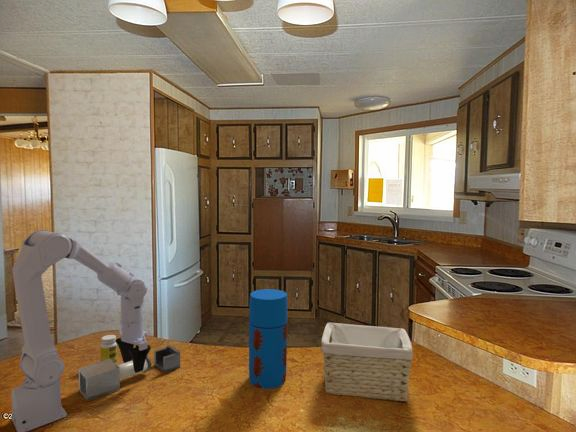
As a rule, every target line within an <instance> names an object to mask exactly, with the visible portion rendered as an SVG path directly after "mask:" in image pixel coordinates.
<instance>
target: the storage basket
mask: <svg viewBox="0 0 576 432" xmlns="http://www.w3.org/2000/svg"><path fill="white" fill-rule="evenodd" d="M411 342H412V341H411V339H410V337H409V334H408V332H407V331H406V329H405V328H402V327H400V328H397V327H390V326H389V327H388V326H374V325H360V324H349V323H340V322H339V323H337V322H327V323H326V324H325V327H324V330H323V333H322V337H321V352H322V354H323V372H324V375H323V376H324V377H323V378H324V380H325V382H324V386H325V388H324V389H325V390H324V391H325V393H327V394H331V395H336V396H338V395H339V396H340V395H342V396H348V397H349V396H352V397H356V396H359V397H358V398H370V399H376V398H377V400H378V399H379V400H385V401H386V400H387V399H388V400H390V401H394V402H395V401H396V402H397V401H399V402H407V401H408V396H409V382H410V372H411V366H412V359H413V358H414V356H413V355H414V353H413V345H412V343H411ZM388 400H387V401H388Z"/></svg>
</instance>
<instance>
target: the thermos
mask: <svg viewBox="0 0 576 432" xmlns="http://www.w3.org/2000/svg"><path fill="white" fill-rule="evenodd" d="M249 295H250V296H249V301H248V302H249V309H248V310H249V311H248V313H249V318H248V319H249V324H248V328H249V329H248V376H249V382H250V385H252V386H253V387H255V388H259V389H262V390H271V389H272V390H273V389H276V388H279V387H281V386H283V385H284V384H285V382H286V380H287V364H288V363H287V361H288V360H287V355H288V353H287V352H288V350H287V349H288V345H287V344H288V293H287V292H286V291H283V290H280V289H275V288H273V289H270V288H269V289H268V288H265V289H257V290H254V291H252V292H250V294H249Z"/></svg>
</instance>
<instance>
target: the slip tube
mask: <svg viewBox="0 0 576 432" xmlns="http://www.w3.org/2000/svg"><path fill="white" fill-rule="evenodd" d="M116 365H117V366H118V367H119V370H120V380H123V379H124V378H128V377H131V376H134V375H136V374H139V373H142V372H146V371H150V370H151V369H152V360H151V358H150V356H149V355H147V357H146V360H145V364H144V368H143V371H140V372H137V373H135V371H134V367H133V361H129V362H126V363H124V362H123V363H120V364H116Z"/></svg>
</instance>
